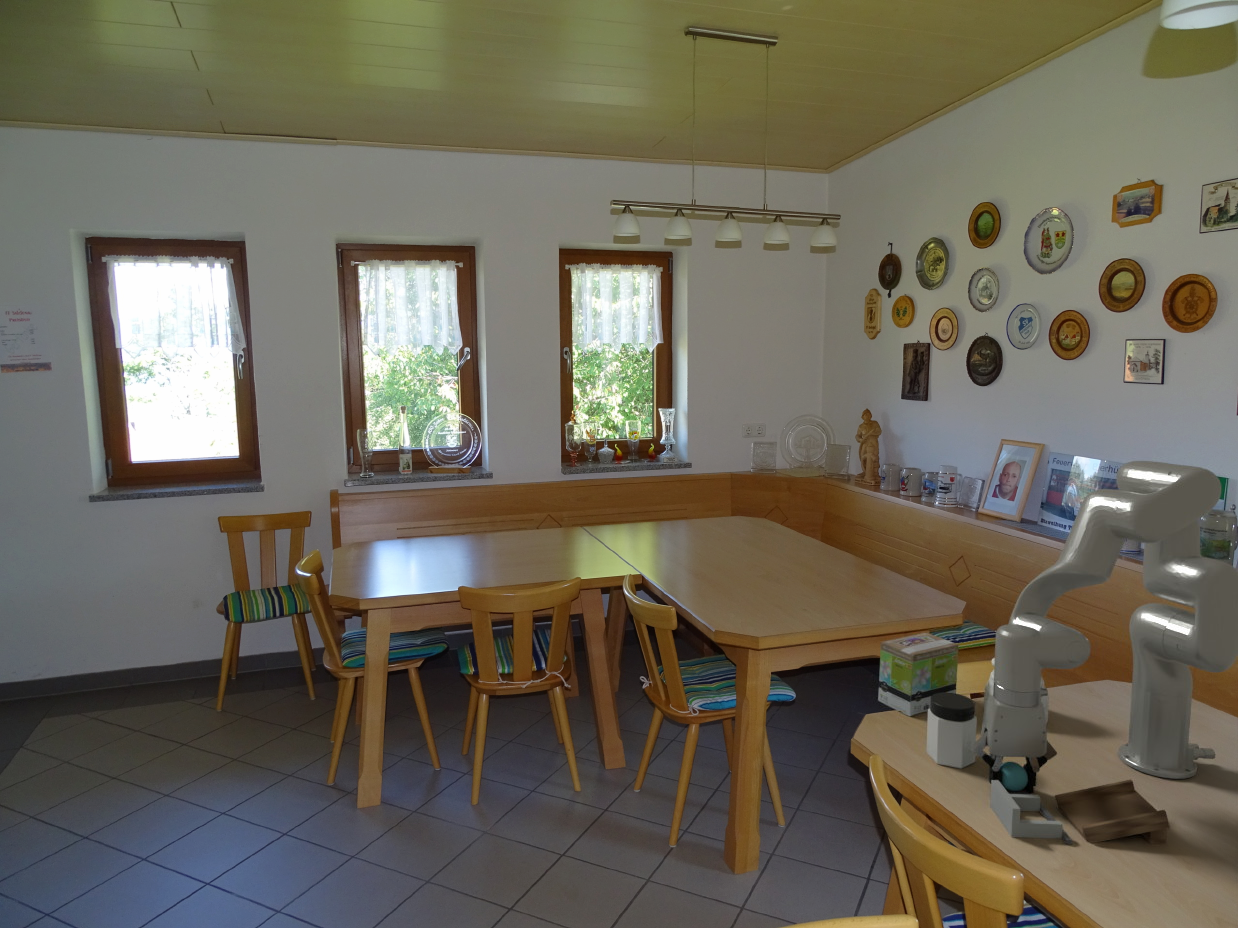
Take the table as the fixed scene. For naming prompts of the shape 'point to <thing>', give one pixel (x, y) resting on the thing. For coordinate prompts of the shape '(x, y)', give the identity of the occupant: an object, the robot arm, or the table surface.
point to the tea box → (916, 671)
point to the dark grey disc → (1018, 791)
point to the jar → (951, 729)
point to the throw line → (1050, 818)
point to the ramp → (1113, 813)
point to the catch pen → (1009, 814)
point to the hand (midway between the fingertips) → (1011, 787)
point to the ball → (1013, 776)
